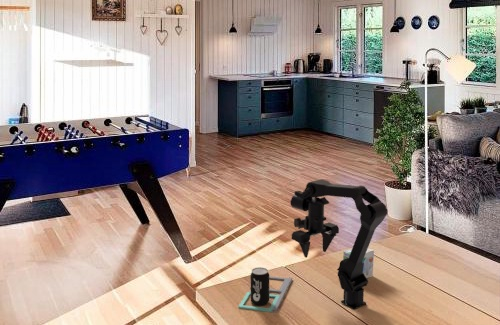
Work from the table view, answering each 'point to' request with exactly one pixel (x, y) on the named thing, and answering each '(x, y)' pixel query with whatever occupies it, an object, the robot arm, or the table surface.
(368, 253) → the light bulb box
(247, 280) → the table surface
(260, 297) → the beverage can
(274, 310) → the strip
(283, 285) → the grey square frame
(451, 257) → the table surface
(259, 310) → the teal square frame
